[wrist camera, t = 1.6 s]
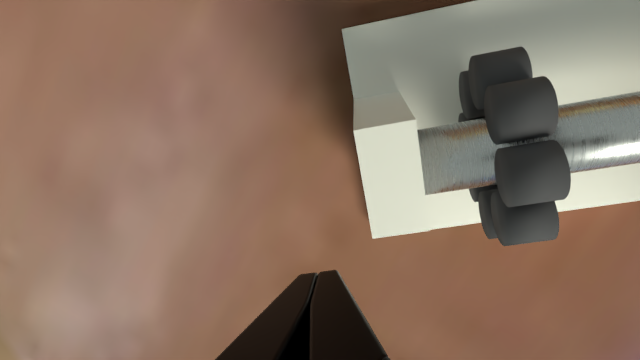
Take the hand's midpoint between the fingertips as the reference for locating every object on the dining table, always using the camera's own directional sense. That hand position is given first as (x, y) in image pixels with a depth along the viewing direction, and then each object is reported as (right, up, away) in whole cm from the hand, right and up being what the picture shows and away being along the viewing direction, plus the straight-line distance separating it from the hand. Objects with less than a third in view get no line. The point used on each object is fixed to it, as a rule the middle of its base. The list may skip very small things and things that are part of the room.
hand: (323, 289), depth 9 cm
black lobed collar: (+7, +5, +9) cm, 12 cm away
